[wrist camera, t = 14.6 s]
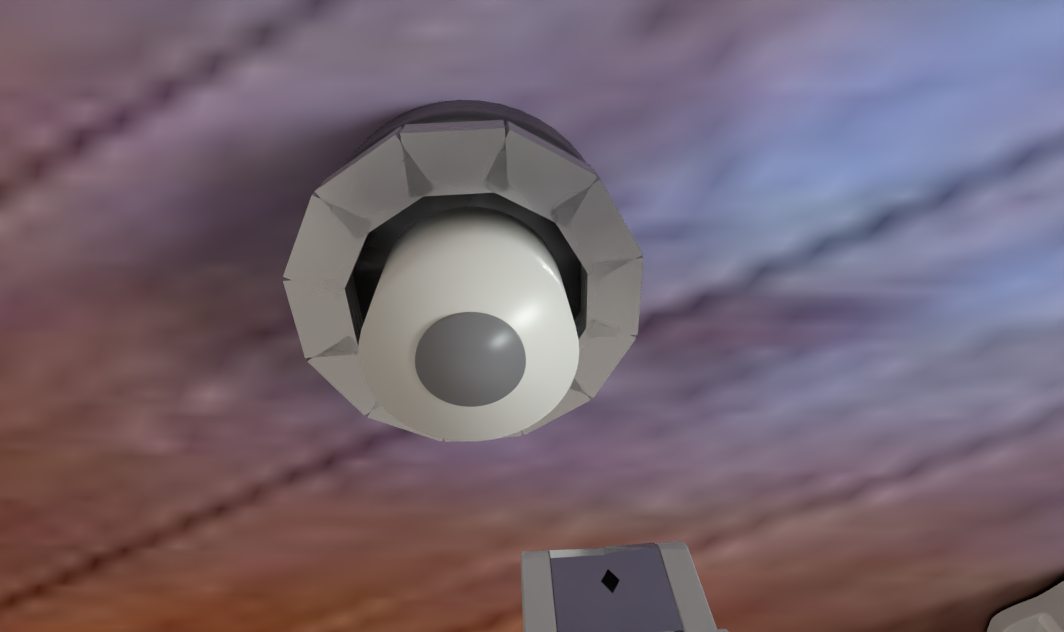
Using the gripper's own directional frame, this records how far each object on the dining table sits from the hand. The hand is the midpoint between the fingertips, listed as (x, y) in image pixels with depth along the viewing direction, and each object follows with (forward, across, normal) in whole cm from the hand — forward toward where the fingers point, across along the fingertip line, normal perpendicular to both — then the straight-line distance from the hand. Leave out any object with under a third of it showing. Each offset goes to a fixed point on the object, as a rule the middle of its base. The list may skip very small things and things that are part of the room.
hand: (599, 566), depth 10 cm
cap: (+10, +3, -1) cm, 10 cm away
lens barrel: (+14, +3, -1) cm, 14 cm away
